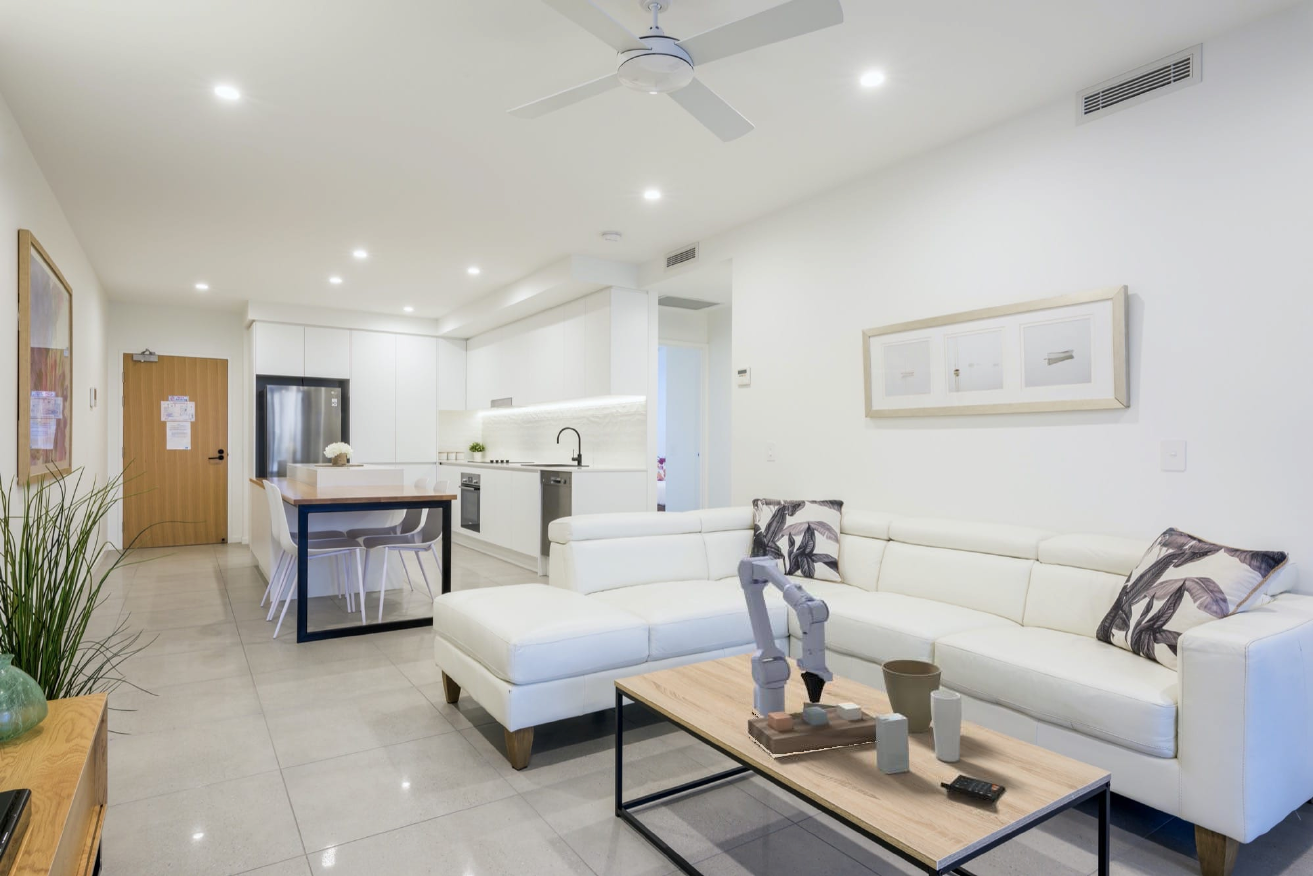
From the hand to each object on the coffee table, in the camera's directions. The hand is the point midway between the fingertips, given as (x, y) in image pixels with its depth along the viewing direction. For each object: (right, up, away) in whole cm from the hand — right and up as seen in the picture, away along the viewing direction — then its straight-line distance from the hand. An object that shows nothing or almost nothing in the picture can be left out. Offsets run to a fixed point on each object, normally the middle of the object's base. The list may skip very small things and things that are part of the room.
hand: (814, 702), depth 181 cm
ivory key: (+10, -6, +3) cm, 11 cm away
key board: (0, -9, 0) cm, 9 cm away
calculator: (+27, -8, -31) cm, 42 cm away
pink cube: (-9, -6, -3) cm, 11 cm away
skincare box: (+14, -9, -19) cm, 25 cm away
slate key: (0, -6, 0) cm, 6 cm away
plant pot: (+27, -9, +6) cm, 30 cm away
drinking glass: (+28, -9, -13) cm, 33 cm away
